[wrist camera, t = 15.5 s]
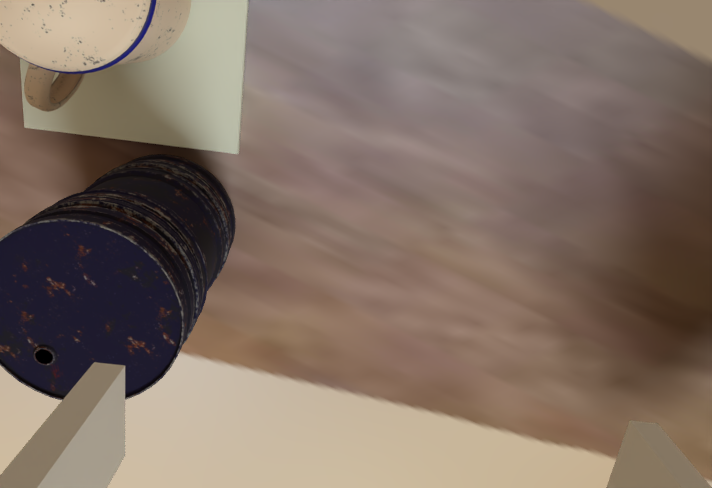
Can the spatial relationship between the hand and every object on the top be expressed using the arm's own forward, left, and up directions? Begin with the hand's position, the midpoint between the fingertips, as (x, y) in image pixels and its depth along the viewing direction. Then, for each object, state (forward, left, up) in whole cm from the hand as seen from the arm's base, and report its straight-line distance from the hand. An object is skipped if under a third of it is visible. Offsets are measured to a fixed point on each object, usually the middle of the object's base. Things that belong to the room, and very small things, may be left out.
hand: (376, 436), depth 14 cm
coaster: (+15, -8, -27) cm, 32 cm away
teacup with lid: (+16, -9, -26) cm, 32 cm away
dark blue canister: (+13, +4, -27) cm, 30 cm away
